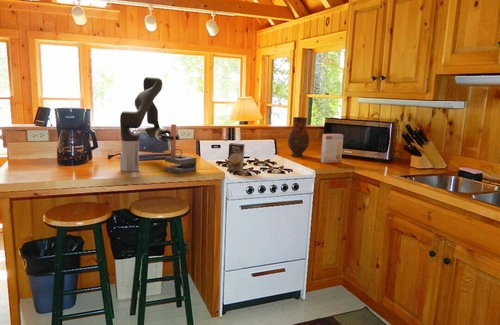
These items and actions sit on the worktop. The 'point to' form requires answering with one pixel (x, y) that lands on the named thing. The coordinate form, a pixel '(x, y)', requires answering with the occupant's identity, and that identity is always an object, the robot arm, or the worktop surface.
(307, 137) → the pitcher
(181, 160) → the clevis
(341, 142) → the cracker box
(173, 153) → the pin
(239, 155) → the coffee box
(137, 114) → the robot arm
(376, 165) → the worktop surface
